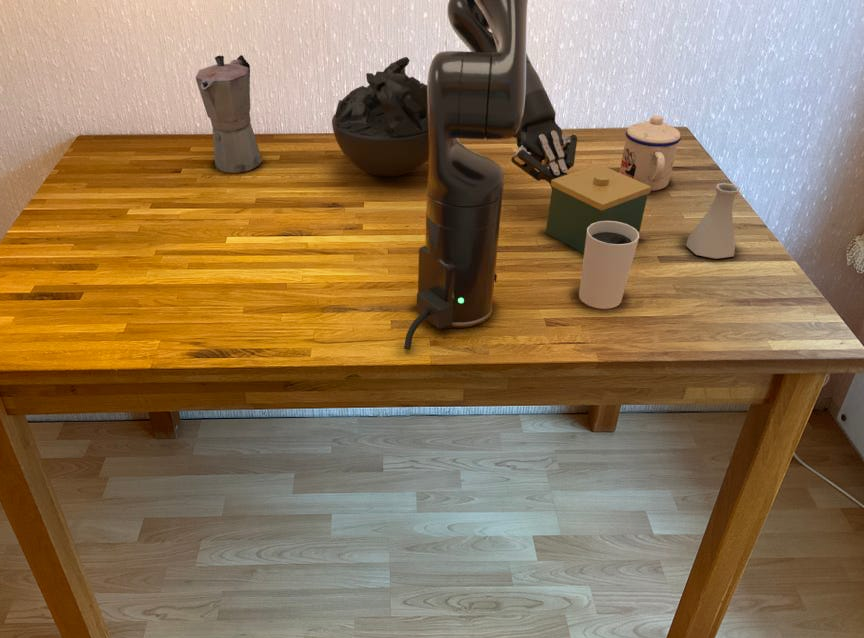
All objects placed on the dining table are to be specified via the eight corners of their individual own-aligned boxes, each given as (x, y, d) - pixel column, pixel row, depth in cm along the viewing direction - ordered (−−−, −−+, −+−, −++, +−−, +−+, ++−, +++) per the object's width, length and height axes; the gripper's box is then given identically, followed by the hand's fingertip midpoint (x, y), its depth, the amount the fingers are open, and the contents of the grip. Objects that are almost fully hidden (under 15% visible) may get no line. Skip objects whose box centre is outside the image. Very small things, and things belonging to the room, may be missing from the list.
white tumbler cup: (606, 280, 106) (619, 217, 99) (634, 304, 101) (650, 239, 94) (566, 290, 104) (576, 225, 98) (593, 314, 99) (606, 249, 93)
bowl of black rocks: (380, 205, 125) (379, 94, 114) (313, 169, 138) (305, 65, 126) (465, 174, 135) (471, 68, 124) (395, 143, 148) (395, 44, 136)
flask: (728, 237, 115) (746, 177, 109) (741, 261, 109) (761, 199, 103) (680, 236, 116) (696, 176, 110) (690, 259, 110) (708, 197, 104)
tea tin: (592, 259, 110) (604, 198, 104) (543, 232, 117) (551, 173, 111) (639, 240, 115) (653, 180, 109) (589, 215, 122) (600, 157, 116)
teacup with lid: (611, 171, 136) (623, 107, 129) (661, 171, 135) (676, 107, 128) (627, 199, 126) (641, 133, 119) (680, 199, 126) (697, 133, 119)
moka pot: (196, 176, 136) (176, 64, 124) (233, 145, 147) (219, 40, 135) (243, 182, 134) (228, 68, 121) (277, 150, 145) (266, 43, 133)
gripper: (504, 96, 112) (551, 199, 111) (566, 80, 117) (611, 178, 117) (479, 120, 118) (523, 218, 118) (539, 104, 124) (581, 197, 124)
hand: (567, 198), depth 117 cm, fingers closed
